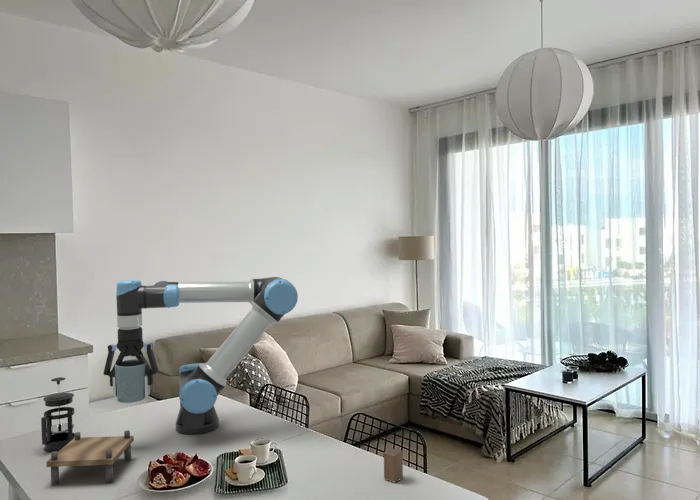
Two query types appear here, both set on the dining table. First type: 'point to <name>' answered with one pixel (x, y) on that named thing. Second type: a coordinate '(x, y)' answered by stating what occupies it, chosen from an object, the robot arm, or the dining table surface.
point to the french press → (59, 430)
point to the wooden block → (393, 464)
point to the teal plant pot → (130, 381)
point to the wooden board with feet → (91, 453)
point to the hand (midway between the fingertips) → (131, 395)
